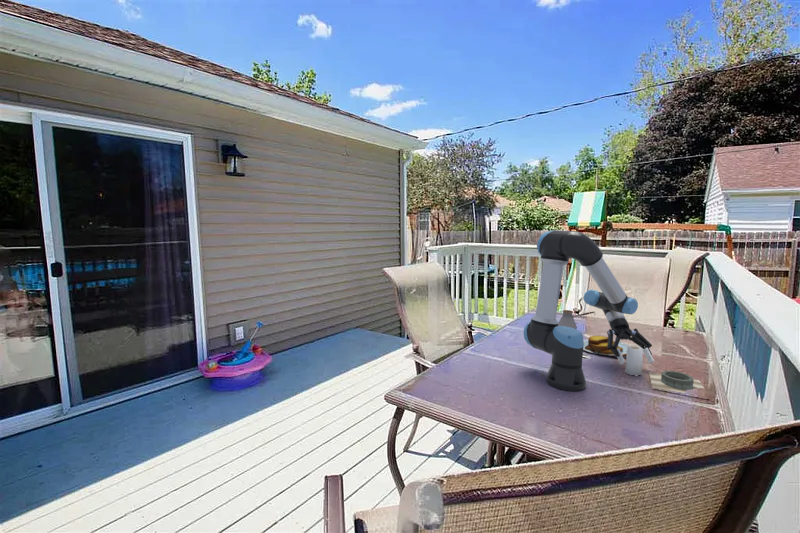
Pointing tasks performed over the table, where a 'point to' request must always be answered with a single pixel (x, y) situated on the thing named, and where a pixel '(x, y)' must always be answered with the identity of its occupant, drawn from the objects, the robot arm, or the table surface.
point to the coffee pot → (569, 319)
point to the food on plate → (602, 346)
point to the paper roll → (634, 360)
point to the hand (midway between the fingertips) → (637, 362)
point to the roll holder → (674, 381)
